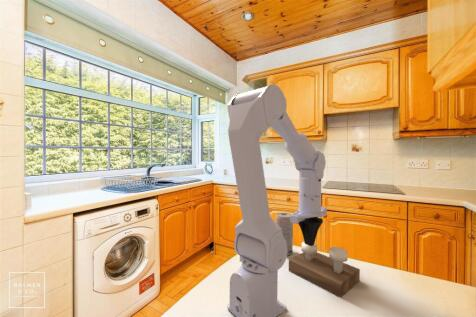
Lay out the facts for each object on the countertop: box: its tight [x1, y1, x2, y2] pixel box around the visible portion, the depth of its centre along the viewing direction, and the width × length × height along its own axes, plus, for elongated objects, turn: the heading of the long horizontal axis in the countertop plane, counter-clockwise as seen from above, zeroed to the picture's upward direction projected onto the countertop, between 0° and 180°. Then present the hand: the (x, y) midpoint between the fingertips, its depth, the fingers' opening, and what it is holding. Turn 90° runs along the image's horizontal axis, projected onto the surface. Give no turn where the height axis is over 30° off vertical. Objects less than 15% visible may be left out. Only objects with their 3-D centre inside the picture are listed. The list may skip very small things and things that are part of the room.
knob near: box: [328, 246, 349, 274], centre depth 52 cm, size 4×4×5 cm
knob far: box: [301, 241, 318, 261], centre depth 58 cm, size 4×4×5 cm
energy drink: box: [275, 212, 294, 256], centre depth 69 cm, size 5×5×12 cm
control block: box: [288, 251, 361, 299], centre depth 55 cm, size 10×14×3 cm
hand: (309, 244), depth 58 cm, fingers closed, pressing on knob far
